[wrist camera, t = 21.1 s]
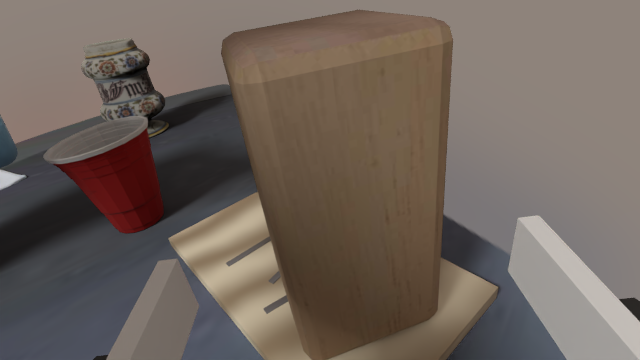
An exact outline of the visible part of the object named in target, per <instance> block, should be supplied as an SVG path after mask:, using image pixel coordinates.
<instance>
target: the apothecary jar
mask: <svg viewBox="0 0 640 360" xmlns="http://www.w3.org/2000/svg"><path fill="white" fill-rule="evenodd" d="M83 49H84V52H85V57H86V59H85V60H84V62H83V63H82V68H81V69H82V72H83V74H84V75H85V76H87V77H88V78H91V79H93V80H94V81H95V83H96V86H97V88H98V90H99V93H100V95H101V98H102V100H103V104H102V106H101V110H100V113H101V116H102V117H103V118H104V119H105V120H107V121H112V120H115V119H120V118H124V117H129V116H143V117H146V118H147V119H148V126H147V129H148V130H147V131H148V135H149V138H150V137H153V136H155V135H157V134H160V133H161V132H163V131H165V130H166V129H167V128H168V126H169V124H168V123H167V122H165V121H158V120H151V118H152V117H154V116H156V115H157V114H158V113H160V112H161V111H162V109H163V108H164V106H165V98H164V97H163V95H162V94H161V93H159V92H158V91H156V90H155V89H154V87H153V85H152V82H151V80H150V77H149V75H148V71H147V66H148V65H149V61H150V59H149V56H148V55H147V54H146V53H145V52H144V51H142V50H140V49H138V48H137V46H136V45H135V44H134V41H133V40H132V39H130V38H128V39H120V40H113V41H107V42H102V43H96V44H91V45H87V46H85V47H83Z"/></svg>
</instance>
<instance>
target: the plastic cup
mask: <svg viewBox="0 0 640 360" xmlns="http://www.w3.org/2000/svg"><path fill="white" fill-rule="evenodd" d="M147 126H148V119H147V118H146V117H143V116H129V117H124V118H120V119H115V120H112V121H108V122H105V123H102V124H99V125H96V126H93V127H91V128H88V129H86V130H83V131H81V132H78V133H76V134H74V135H72V136H70V137H68V138H66V139H64V140H62V141H60V142H59V143H57V144H56V145H54V146H53V147H51V148H50V149H48V151H47V152H46V153H45V154H44V156H43V157H44V159H45V160H46V161H47V162H48V163H50V164H54V165H56V166H57V167H59V168H60V169H61V170H62V171H63V172H65V173H66V174H67V175H68V176H69V177H70V178H71V179H73V180H74V182H75V183H76V184H77V185H78V186H79V187H80V188H81V190H82V191H83V192H84V193H85V194H86V195H87V197H88V198H89V199H90V200H91V201H92V202H93V203H94V205H95V206H96V207H97V208H98V209H99V210H100V212H101V213H103V214H104V215H105V216H106V217H107V218H108V220H109V221H110V222H111V223H112V225H113V226H114V227H115V228H116V229H118V230H119V232H122V233H135V232H138V231H141V230H144V229H146V228H148V227H150V226H152V225H154V224H155V223H156V222H157V221H159V220H160V219H161V217H162V216H163V214H164V210H163V201H162V197H161V193H160V185H159V181H158V177H157V172H156V168H155V164H154V160H153V156H152V152H151V144H150V141H149V135H148V131H147V130H148V129H147Z"/></svg>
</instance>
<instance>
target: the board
mask: <svg viewBox="0 0 640 360" xmlns="http://www.w3.org/2000/svg"><path fill="white" fill-rule="evenodd" d="M169 241H170V243H171V245H172V247H173V248H174V249H175V251H176V252H177V253H178V254H179V256H180V257H181V258H182V259H183V260H184V262H185V263H186V264H187V265H188V267H189V268H190V269H191V270H192V272H193V273H194V274H195V275H196V276H197V278H198V279H199V280H200V281H201V283H202V284H203V285H204V286H205V287H206V289H207V290H208V291H209V292H210V294H211V295H212V296H213V297H214V298H215V300H216V301H217V302H218V303H219V305H220V306H221V307H222V308H223V310H224V311H225V312H226V313H227V314H228V316H229V317H230V318H231V319H232V321H233V322H234V323H235V324H236V325H237V327H238V328H239V329H240V330H241V332H242V333H243V334H244V335H245V336H246V338H247V339H248V340H249V341H250V343H251V344H252V345H253V346H254V348H255V349H256V350H257V351H258V352H259V354H260V355H261V356H262V357H263V359H264V360H311V359H310V357H309V356H308V355H307V354H306V353H305V352H304V351H303V347H302V344H301V341H300V338H299V334H298V331H297V328H296V325H295V321H294V318H293V315H292V312H291V308H290V305H289V302H288V299H287V295H286V292H285V289H284V286H283V282H282V279H281V276H280V272H279V269H278V265H277V261H276V258H275V254H274V250H273V246H272V243H271V239H270V235H269V231H268V228H267V224H266V220H265V216H264V213H263V209H262V205H261V201H260V198H259V194H258V192H256V193H254V194H252V195H250V196H248V197H246V198H245V199H243V200H241V201H239V202H237V203H235V204H233V205H231V206H229V207H227V208H225V209H224V210H222V211H220V212H218V213H216V214H214V215H212V216H210V217H208V218H206V219H204V220H203V221H201V222H199V223H197V224H195V225H193V226H191V227H189V228H187V229H185V230H183V231H181V232H180V233H178V234H176V235H174V236H172V237H170V238H169ZM497 292H498V287H497V286H495V285H493V284H491V283H489V282H487V281H485V280H484V279H482V278H480V277H478V276H476V275H474V274H472V273H470V272H468V271H466V270H464V269H462V268H460V267H458V266H457V265H455V264H453V263H451V262H449V261H447V260H445V259H443V258H441V261H440V279H439V296H438V310H437V312H436V313H435V315H434V316H432V317H431V318H430V319H429V320H427V321H424V322H422V323H419V324H417V325H414V326H412V327H409V328H407V329H404V330H401V331H399V332H396V333H394V334H391V335H389V336H386V337H383V338H381V339H378V340H376V341H373V342H371V343H368V344H366V345H363V346H360V347H358V348H355V349H353V350H350V351H348V352H345V353H343V354H340V355H337V356H335V357H332V358H330V359H327V360H446V359H447V358H448V357H449V355H450V354H451V353H452V352H453V351H454V349H455V348H456V347H457V346H458V344H459V343H460V342H461V341H462V340H463V338H464V337H465V336H466V335H467V333H468V332H469V331H470V330H471V329H472V327H473V326H474V325H475V324H476V322H477V321H478V320H479V319H480V317H481V316H482V315H483V314H484V313H485V311H486V310H487V309H488V308H489V306H490V305H491V304H492V303H493V302H494V300H495V299H496V298H497Z"/></svg>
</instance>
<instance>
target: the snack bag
mask: <svg viewBox="0 0 640 360" xmlns="http://www.w3.org/2000/svg"><path fill="white" fill-rule="evenodd" d="M24 179H26V176H25V175H18V174H14V173H11V172H8V171H4V170H1V169H0V191H1V190H3V189H5V188H7V187H9V186H11V185H14V184H16V183H18V182H20V181H22V180H24Z"/></svg>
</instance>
